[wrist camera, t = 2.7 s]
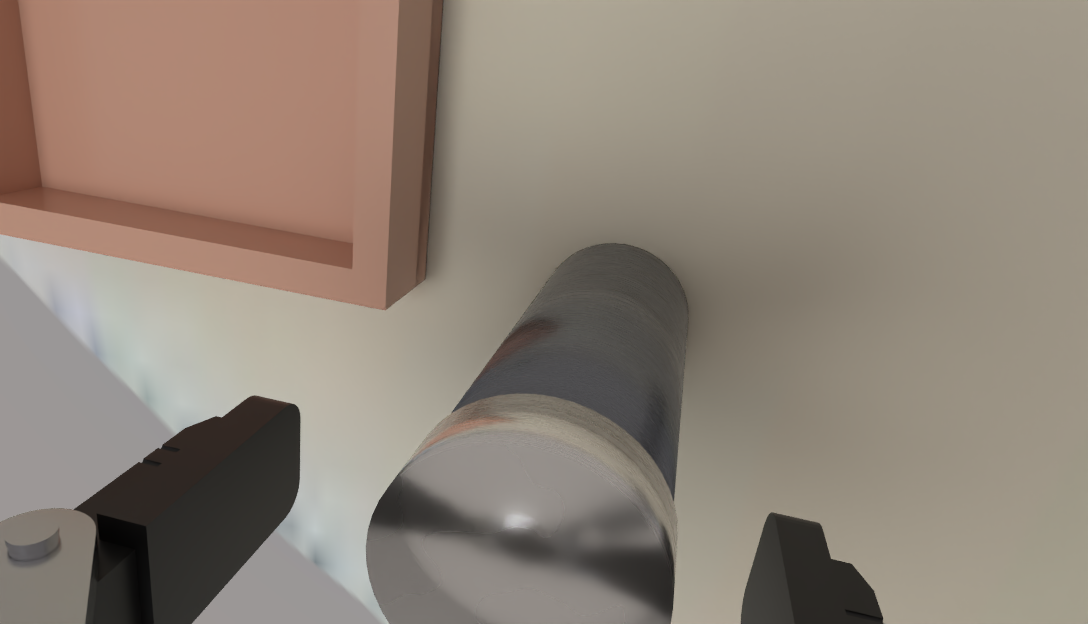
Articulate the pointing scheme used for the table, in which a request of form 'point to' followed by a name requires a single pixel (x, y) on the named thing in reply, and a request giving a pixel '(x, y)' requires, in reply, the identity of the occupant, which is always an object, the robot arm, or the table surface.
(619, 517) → the shaker
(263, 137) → the tray
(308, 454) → the table surface
